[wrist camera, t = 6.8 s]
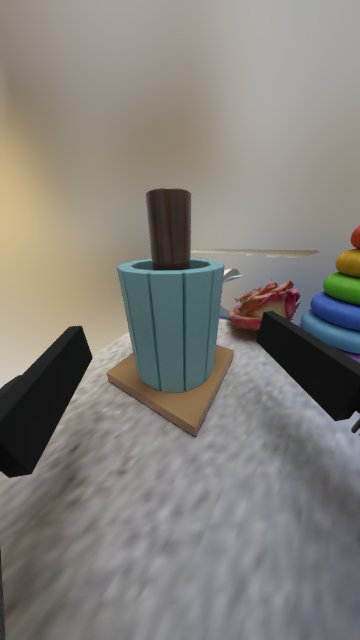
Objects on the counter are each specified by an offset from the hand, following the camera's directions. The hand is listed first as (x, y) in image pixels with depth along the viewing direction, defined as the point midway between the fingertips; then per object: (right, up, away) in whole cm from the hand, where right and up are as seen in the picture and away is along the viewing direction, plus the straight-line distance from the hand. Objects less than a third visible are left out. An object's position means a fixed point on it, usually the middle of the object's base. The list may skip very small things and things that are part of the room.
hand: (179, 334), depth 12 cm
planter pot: (0, -3, +5) cm, 6 cm away
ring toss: (0, -4, +6) cm, 7 cm away
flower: (+12, -1, +13) cm, 17 cm away
